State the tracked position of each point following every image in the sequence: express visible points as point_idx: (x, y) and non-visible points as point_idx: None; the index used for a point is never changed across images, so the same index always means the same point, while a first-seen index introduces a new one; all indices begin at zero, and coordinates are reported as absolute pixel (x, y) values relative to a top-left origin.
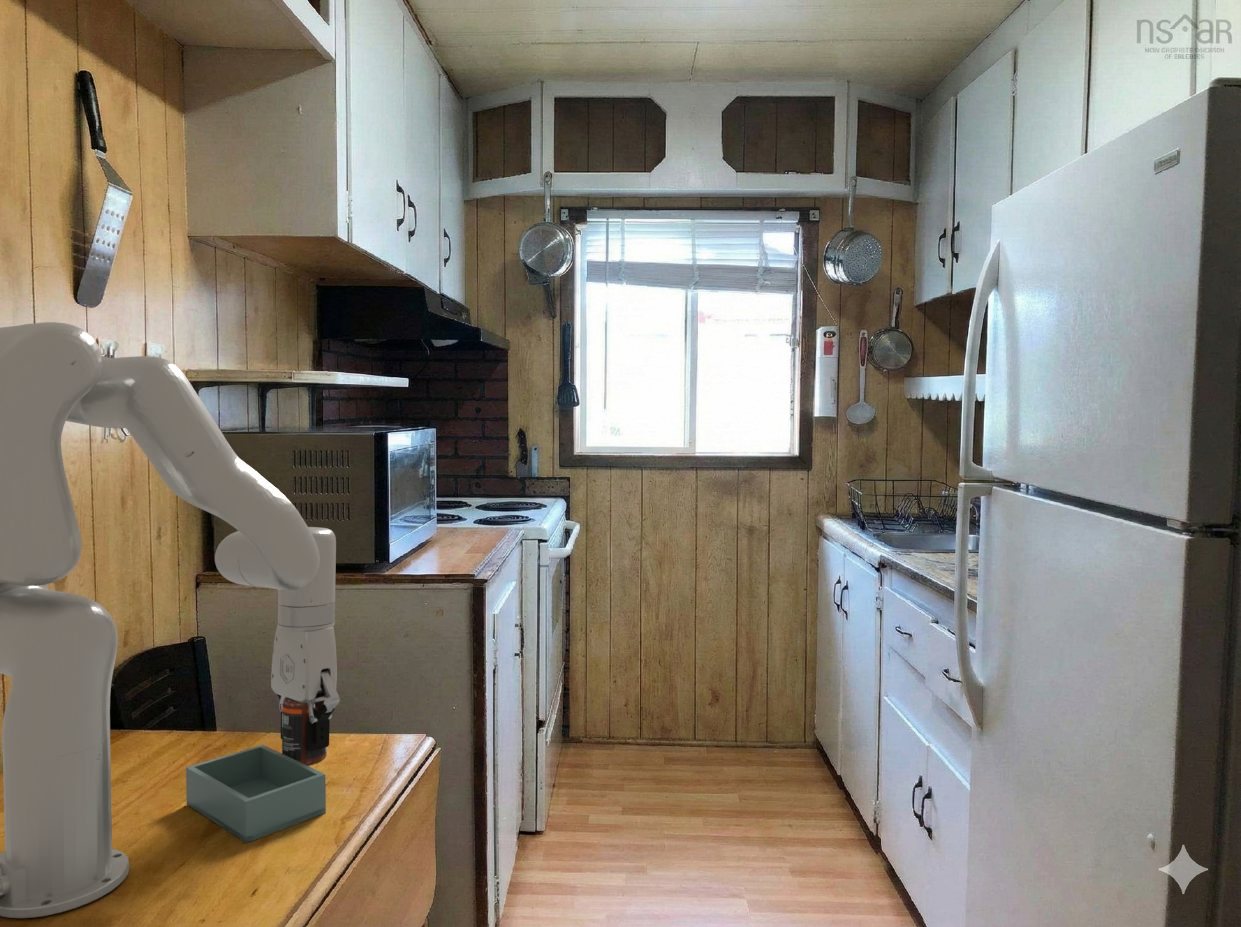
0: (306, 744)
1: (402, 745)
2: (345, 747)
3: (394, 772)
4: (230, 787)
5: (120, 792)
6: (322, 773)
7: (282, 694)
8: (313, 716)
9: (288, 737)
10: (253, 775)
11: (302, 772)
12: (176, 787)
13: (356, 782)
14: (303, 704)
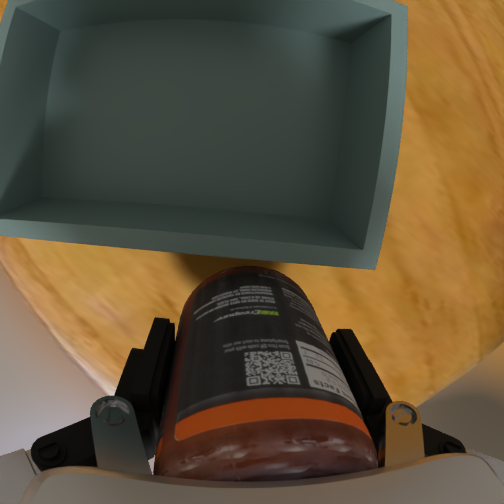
0: (163, 330)
1: None
2: None
3: None
4: (341, 133)
5: (499, 51)
6: None
7: (357, 483)
8: (91, 420)
9: (239, 316)
10: (336, 202)
11: (65, 218)
12: (457, 102)
13: (128, 343)
14: (170, 473)
